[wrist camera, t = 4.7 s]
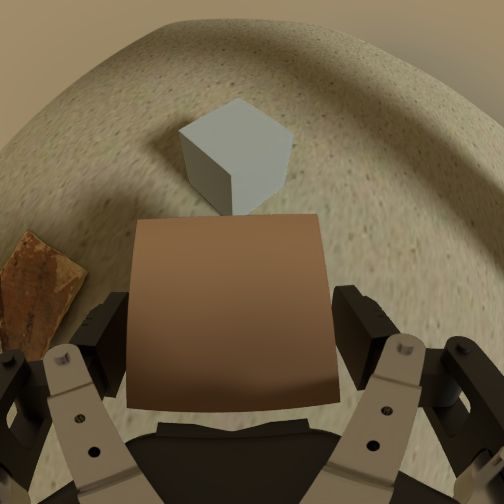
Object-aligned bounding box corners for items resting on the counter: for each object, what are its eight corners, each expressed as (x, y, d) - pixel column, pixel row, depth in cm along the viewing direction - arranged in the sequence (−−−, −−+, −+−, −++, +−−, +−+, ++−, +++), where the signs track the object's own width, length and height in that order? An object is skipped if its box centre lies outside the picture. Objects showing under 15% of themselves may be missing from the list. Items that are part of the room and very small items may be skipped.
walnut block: (193, 312, 16) (137, 219, 7) (275, 309, 17) (316, 213, 7) (194, 393, 14) (126, 407, 5) (280, 390, 15) (340, 402, 6)
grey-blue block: (238, 150, 21) (239, 97, 17) (283, 187, 20) (294, 134, 15) (189, 183, 20) (178, 130, 15) (232, 226, 19) (231, 175, 14)
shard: (32, 415, 13) (16, 416, 11) (-25, 352, 14) (-40, 347, 13) (97, 277, 17) (85, 267, 16) (31, 234, 18) (19, 223, 17)
